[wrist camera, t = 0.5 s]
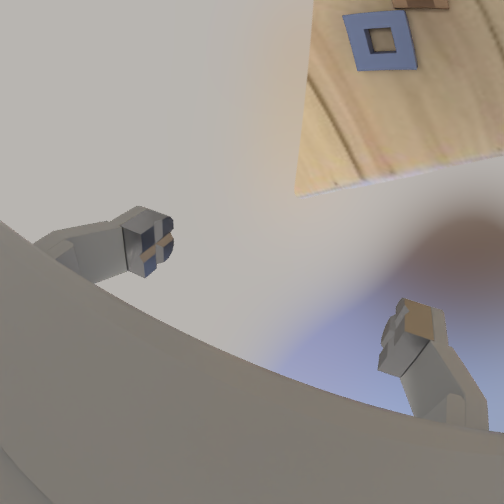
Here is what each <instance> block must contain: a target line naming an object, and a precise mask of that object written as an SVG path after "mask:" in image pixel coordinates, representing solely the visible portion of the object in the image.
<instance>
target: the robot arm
mask: <svg viewBox="0 0 504 504" xmlns="http://www.w3.org/2000/svg"><path fill="white" fill-rule="evenodd" d="M172 230H173V219H172V218H171V217H169V216H167V215H164V214H161V213H158V212H156V211H153V210H150V209H148V208H145V207H142V206H136V207H134V208H132V209H131V210H129V211H127V212H125V213H124V214H122V215H120V216H119V217H117V218H115V219H114V220H112V221H110V222H108V221H104V222H98V223H93V224H88V225H82V226H77V227H72V228H67V229H62V230H57V231H53V232H51V233H50V234H48V235H46V236H45V237H43V238H41V239H40V240H38V241H37V242H35V243H34V244H31V243H30V242H29V241H27V240H26V239H25V238H23V237H22V236H20V235H19V234H18V233H16V232H15V231H14V230H12V229H11V228H10V227H8V226H7V225H6V224H4V223H3V222H2V221H0V504H504V433H501V432H493V431H489V423H488V408H487V400H486V399H485V397H484V395H483V394H482V392H481V391H480V389H479V387H478V386H477V384H476V382H475V381H474V379H473V378H472V377H471V375H470V373H469V372H468V370H467V368H466V367H465V366H464V364H463V362H462V361H461V360H460V358H459V357H458V355H457V354H456V352H455V351H454V349H453V348H452V347H450V346H448V338H447V330H446V323H445V317H444V312H443V311H442V310H440V309H436V308H433V307H430V306H426V305H423V304H420V303H417V302H414V301H411V300H408V299H405V298H402V299H401V300H400V301H399V302H398V304H397V306H396V314H395V315H394V316H391V317H390V318H389V320H388V322H387V324H386V326H385V329H384V332H383V335H382V339H381V345H382V347H383V350H382V352H381V353H380V355H379V364H378V371H382V372H384V373H388V374H390V375H393V376H397V377H399V378H400V380H401V383H402V385H403V388H404V391H405V393H406V396H407V398H408V401H409V404H410V407H411V409H412V412H413V415H414V416H410V415H406V414H402V413H398V412H394V411H390V410H387V409H383V408H379V407H375V406H372V405H369V404H365V403H362V402H358V401H355V400H352V399H349V398H346V397H342V396H339V395H336V394H333V393H330V392H327V391H324V390H321V389H318V388H315V387H313V386H310V385H307V384H304V383H301V382H299V381H296V380H293V379H291V378H288V377H285V376H283V375H280V374H277V373H275V372H272V371H270V370H267V369H265V368H262V367H260V366H257V365H255V364H253V363H250V362H248V361H246V360H243V359H240V358H238V357H236V356H234V355H231V354H229V353H227V352H225V351H222V350H220V349H218V348H215V347H213V346H211V345H209V344H207V343H205V342H203V341H200V340H198V339H196V338H194V337H192V336H190V335H187V334H186V333H184V332H182V331H179V330H178V329H176V328H174V327H172V326H170V325H168V324H166V323H164V322H162V321H160V320H157V319H156V318H154V317H152V316H150V315H148V314H146V313H144V312H142V311H141V310H139V309H137V308H135V307H133V306H132V305H129V304H128V303H126V302H124V301H123V300H121V299H119V298H117V297H115V296H114V295H112V294H110V293H109V292H107V291H105V290H103V289H101V288H100V287H98V286H97V285H95V284H94V283H97V282H100V281H102V280H105V279H108V278H111V277H113V276H116V275H119V274H122V273H124V272H127V270H128V271H130V272H132V273H135V274H137V275H139V276H141V277H143V278H146V277H147V276H148V275H149V274H151V273H152V272H153V271H154V270H155V269H156V268H157V264H158V263H162V262H165V261H166V260H167V259H168V258H169V256H170V254H171V253H172V250H173V246H174V239H173V237H172V235H171V233H170V232H171V231H172Z"/></svg>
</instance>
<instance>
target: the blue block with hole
mask: <svg viewBox="0 0 504 504" xmlns="http://www.w3.org/2000/svg"><path fill="white" fill-rule="evenodd" d="M342 17H343V20H344V23H345V26H346V30H347V33H348V37H349V40H350V44H351V47H352V51H353V55H354V59H355V63H356V67H357V71H370V70H417V67H418V65H417V59H416V54H415V49H414V44H413V40H412V35H411V31H410V27H409V23H408V19H407V15H406V12H405V11H404V10H396V11H380V12H368V13H359V14H350V15H343V16H342ZM387 27H391V31H392V35H393V39H394V44H395V48H396V51H381V52H374V49H373V45H372V41H371V37H370V33H369V30H368V29H372V28H387Z"/></svg>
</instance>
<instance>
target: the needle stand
mask: <svg viewBox="0 0 504 504" xmlns="http://www.w3.org/2000/svg"><path fill="white" fill-rule="evenodd" d="M392 3H393V6H394V8H395V9H401V8H438V9H449V4H448V1H447V0H392Z"/></svg>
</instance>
